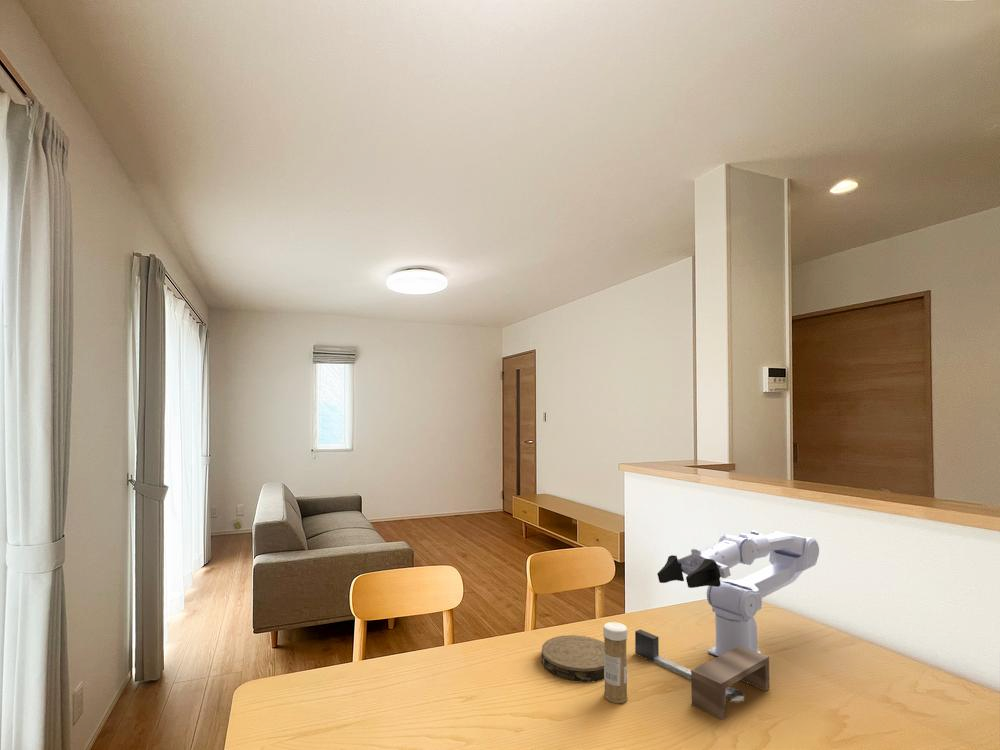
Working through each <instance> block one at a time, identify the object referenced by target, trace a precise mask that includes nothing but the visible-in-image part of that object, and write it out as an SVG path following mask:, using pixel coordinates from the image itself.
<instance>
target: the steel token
mask: <svg viewBox="0 0 1000 750" xmlns="http://www.w3.org/2000/svg"><path fill="white" fill-rule="evenodd" d="M727 700H728V701H727ZM743 700H744V701H745V694H744V692H743V691H741V690H739V689H738V688H735V687H732V686H728V687H727V688H726V701H727V702H729V701H733V702H741V703H743V702H744V701H743ZM742 701H743V702H742ZM733 702H732V703H733Z"/></svg>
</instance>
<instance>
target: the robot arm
mask: <svg viewBox="0 0 1000 750" xmlns="http://www.w3.org/2000/svg"><path fill="white" fill-rule="evenodd" d="M690 552H691V554H688V555H686V556H684V557H681V558H679V559H678V555H673V554H672V555H669V556H668V557H667V560H666V563H665V564H664V566H662V567H661V569H660V570H659V571H658V572H657V578H658V582H659V583H661V584H665V583H669V582H674V581H678V582H684V581H686V584H687V588H689V589H693V588H695V589H696V588H700V587H706V586H707V588H706V600H707V603H708V604H709V605H710V606H711V608H712V609H711V610H712V612H713V613H715V614H714V615H715V617H714V618H715V621H714V622H715V646H714V647H712V648H709V649H708V650H707V652H708V653H709V654H711V655H713V656H716V657H719V656H721V655H723V654H725V653H727V652H729V651H730V650H732V649H734V648H736V647H738V646H742V647H745V648H747V649H750V650H753V651H755V652H758V653H761V654H762V652H761V651H760V650H758V625H757V622H756V620H755V618H754V617H755V616H756V614H757V612H759V611H760V610H761V609H762V605H763V604H762V603H763V602H762V600H763V598H765V597H767V596H769V595H771V594H773V593H775V592H777V591H779V590H781V589H783V588H785V587H787V586H788V585H790V584H793V583H794V582H796V580H797V579H798V578H799V577H800V576H801V574H802V573H803V572H804V571H806V570H808V569H811V568H812V567H814V566H816V564H817V561H818V558H819V554H820V546H819V543H818V542H817V539H815V538H813V537H805V536H801V535H796V534H792V533H786V532H782V531H780V530H778V531H772V533H770V534H767V535H764V534H763V533H761V532H760V531H757V530H751V531H750V533H748V534H747V533H742V532H741V533H739V535H731V534H724V533H723V534H722V535H721V536H720V538H719V540H718V542H716V543H715V542H714V544H713V545H711V546H709V547H706V548H705V549H703V550H701V549H700V548H691V550H690ZM768 555H769V563H770V564H771V565H768V566H766V567H764V568H762V569H760V570H758V571H755V572H753V573H751V574H749V575H747V576H744V577H742V578H740V579H726V578H728V577H730V576H731V571H730V569H731V568H733V567H735V566H737V565H739V564H741V565H742V564H743V565H748V566H751V565H752V564H753V563H754V562H755V560H757V559H760V558H765V557H767V556H768ZM684 575H687V576H685V579H684ZM721 578H722V579H723V580H721Z"/></svg>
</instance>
